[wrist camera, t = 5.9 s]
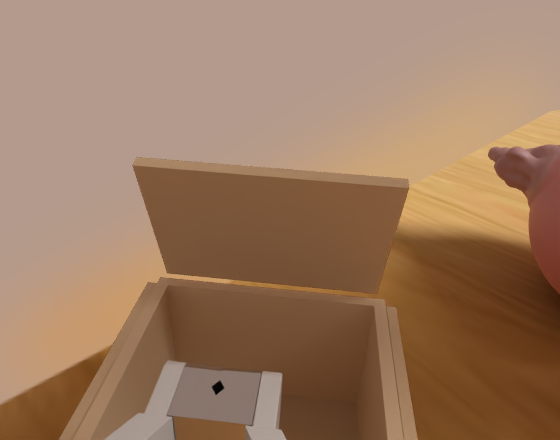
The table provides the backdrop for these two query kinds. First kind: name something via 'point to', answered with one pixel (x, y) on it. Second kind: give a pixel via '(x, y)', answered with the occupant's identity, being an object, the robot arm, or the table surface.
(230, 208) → the front flap
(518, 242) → the table surface
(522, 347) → the table surface
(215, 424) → the robot arm
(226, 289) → the carton
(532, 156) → the balloon
